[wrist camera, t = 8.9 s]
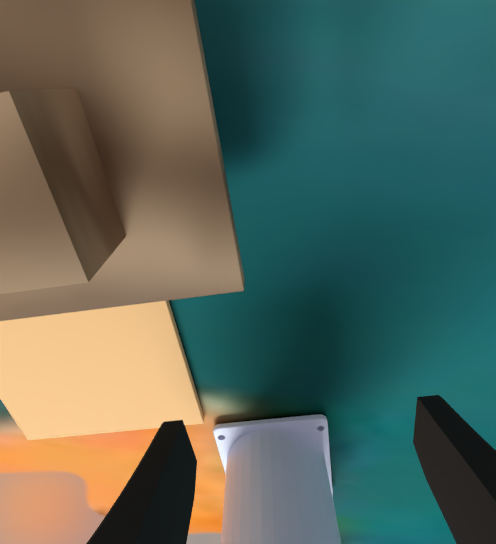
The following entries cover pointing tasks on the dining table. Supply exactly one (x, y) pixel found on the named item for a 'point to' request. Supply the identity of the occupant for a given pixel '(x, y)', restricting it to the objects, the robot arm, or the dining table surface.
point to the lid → (109, 159)
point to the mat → (96, 372)
